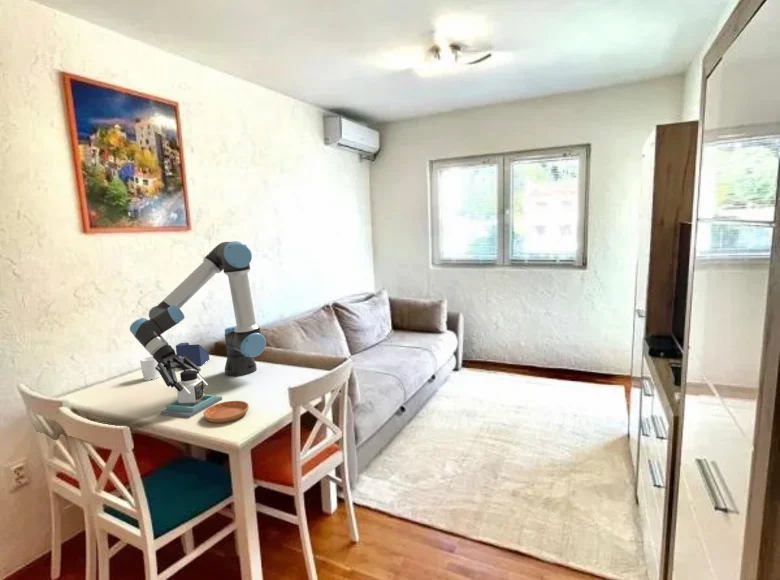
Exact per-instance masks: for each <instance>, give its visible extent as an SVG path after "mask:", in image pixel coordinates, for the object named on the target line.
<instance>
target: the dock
mask: <svg viewBox="0 0 780 580" xmlns="http://www.w3.org/2000/svg"><path fill="white" fill-rule="evenodd" d="M222 400H223V396H217V395H215V394H214V395H213V394H205V393H204V396H203V397H202V398H201V399H200V400H199V401H198V402H196V403H179V402H178V399H176V400H175V401H172V402H170V403H168V404H166V405H165V408H164V409H163V410H160V411H159V413H160V415H161V416H162V415H163V416H170V417H171V416H172V417H180V418H181V417H182V418H192V417H194V416H195V415H197V414H199V413H200V412H202V411H203V412H204V411H205V410H206V409H207V408H209V407H211V406H213V405H216V404H218V402H219V403H220V402H221V401H222Z"/></svg>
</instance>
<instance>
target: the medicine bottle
mask: <svg viewBox="0 0 780 580" xmlns="http://www.w3.org/2000/svg"><path fill="white" fill-rule="evenodd" d="M179 376H180V381H181V383H182V384H183V385H184V386H185V387H186V388H187V389H188V390H189V392H190V393H191V394H190V395H189V396H188V397H187V398H185V397H184V395H183V394H182V393H181V392H179V391H178V390H177V389H176V390H177V391H176V392H177V400H178V402H179V403H196V402H198V401H199V400H200V399H201V398H202V397H203V396H204V394H205V393H204V392H205V390H204V389H203V382H202V380H198V377H197V371H196V370H193V369H190V370H185V371H183V370H182V371H181V372H180V373H179Z"/></svg>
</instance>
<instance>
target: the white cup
mask: <svg viewBox="0 0 780 580" xmlns="http://www.w3.org/2000/svg"><path fill="white" fill-rule="evenodd" d="M139 362H140V369H141V373H142V376H143V380H144V381H152V380H151V379H154V380H156V379H155V378H157V379H159V378H160V373H159V371H157V370H156V369H155V367H156V366H157V364H158V362H157V361H156V360H155V359H154V358H153V356H152V355H150V356H147V357H143V358H140V359H139ZM158 377H159V378H158Z"/></svg>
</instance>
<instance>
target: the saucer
mask: <svg viewBox="0 0 780 580" xmlns="http://www.w3.org/2000/svg"><path fill="white" fill-rule="evenodd" d="M248 410H249V404H248V402H246V401H243V400H228V401H224V402H223V401H222V402H219V403H215V404H213V405H212V406H210V407H208V408H206V409H204V410H203V413H202V414H203V417H204V419H205V420H207V421H208V422H210V423H213V424H226V423H231V422H234V421H237V420H239V419H241V418H243V416H245V414H246V413H248Z"/></svg>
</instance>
